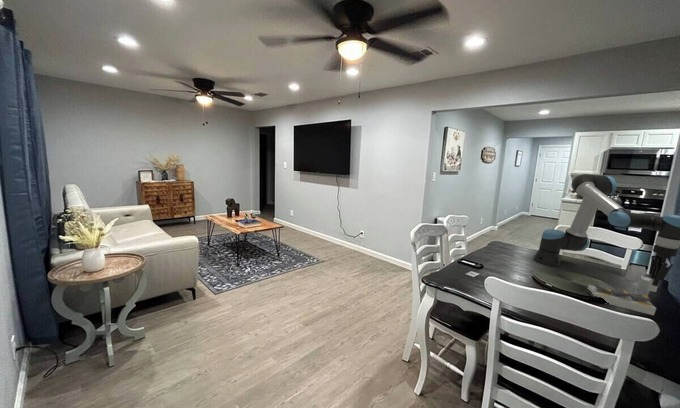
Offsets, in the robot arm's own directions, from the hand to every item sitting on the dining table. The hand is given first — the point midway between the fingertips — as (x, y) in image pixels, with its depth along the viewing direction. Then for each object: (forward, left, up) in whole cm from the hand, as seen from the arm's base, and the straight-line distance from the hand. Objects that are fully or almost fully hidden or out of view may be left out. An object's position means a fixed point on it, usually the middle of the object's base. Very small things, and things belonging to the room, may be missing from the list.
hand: (651, 290), depth 136 cm
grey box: (+11, +46, -11) cm, 49 cm away
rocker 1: (-18, 0, -7) cm, 19 cm away
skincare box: (+3, +14, -11) cm, 18 cm away
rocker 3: (-3, 0, -7) cm, 7 cm away
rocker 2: (-10, 0, -7) cm, 12 cm away
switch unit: (-10, 0, -11) cm, 15 cm away
